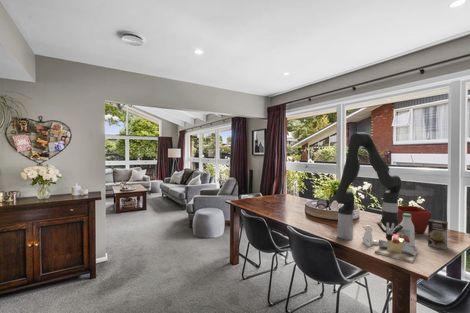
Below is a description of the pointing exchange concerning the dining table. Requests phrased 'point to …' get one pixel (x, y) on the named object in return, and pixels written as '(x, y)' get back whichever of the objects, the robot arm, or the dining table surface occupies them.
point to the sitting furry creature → (368, 237)
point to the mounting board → (396, 255)
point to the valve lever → (396, 238)
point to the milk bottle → (407, 231)
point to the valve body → (397, 247)
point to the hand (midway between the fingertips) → (389, 240)
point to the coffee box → (437, 233)
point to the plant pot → (415, 217)
